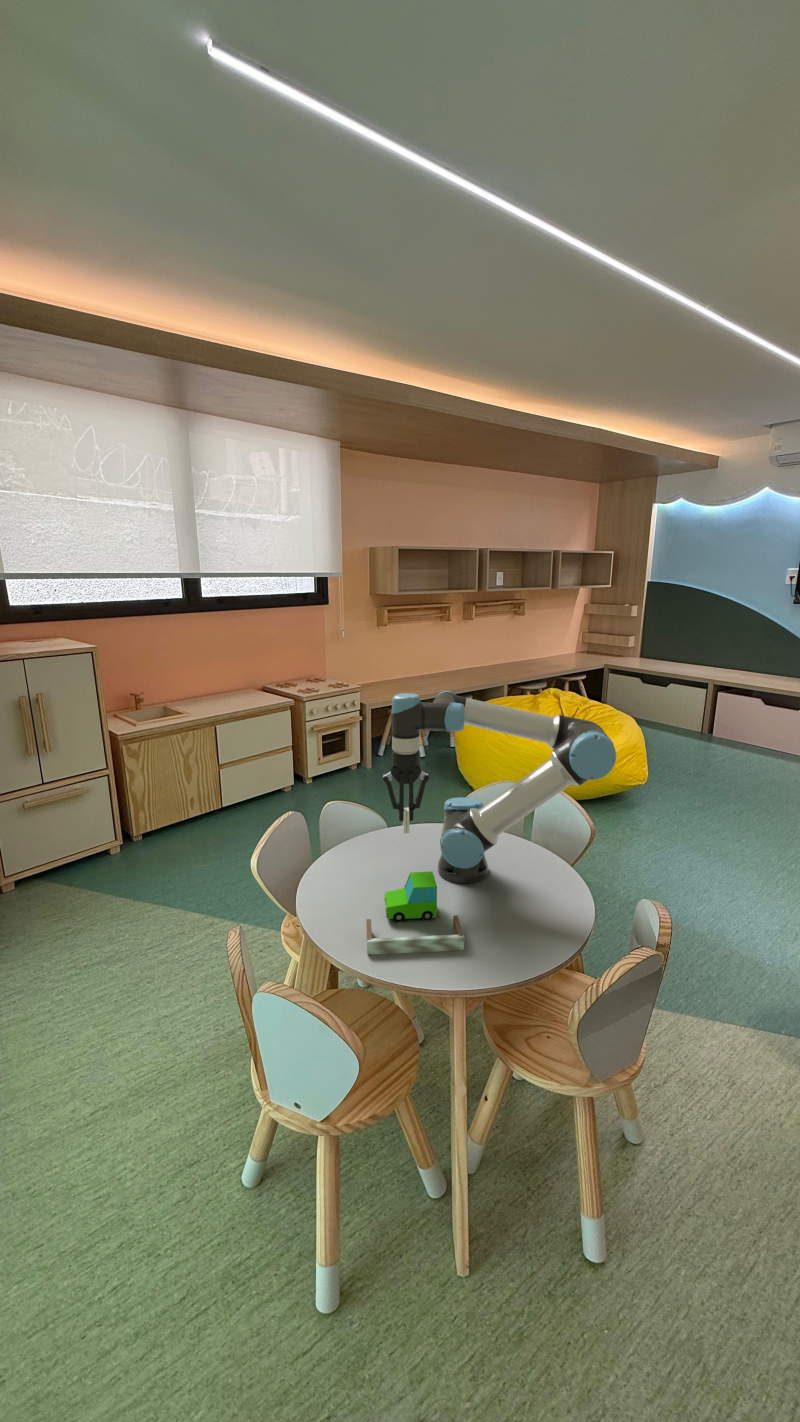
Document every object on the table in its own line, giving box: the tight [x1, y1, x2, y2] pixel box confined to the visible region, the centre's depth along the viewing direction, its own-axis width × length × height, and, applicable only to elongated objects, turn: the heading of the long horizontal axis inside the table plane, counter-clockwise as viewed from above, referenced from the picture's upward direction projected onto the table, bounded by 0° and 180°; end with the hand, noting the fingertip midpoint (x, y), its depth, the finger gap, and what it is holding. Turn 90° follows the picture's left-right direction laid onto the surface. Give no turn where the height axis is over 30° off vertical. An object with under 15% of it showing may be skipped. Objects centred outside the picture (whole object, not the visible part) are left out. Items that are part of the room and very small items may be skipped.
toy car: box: [383, 870, 438, 923], centre depth 162 cm, size 10×13×10 cm
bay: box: [366, 914, 465, 955], centre depth 151 cm, size 23×10×4 cm, turn 94°
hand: (406, 831), depth 170 cm, fingers closed
